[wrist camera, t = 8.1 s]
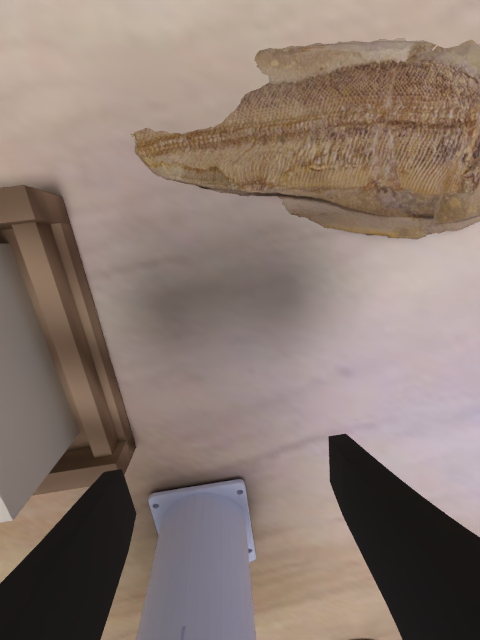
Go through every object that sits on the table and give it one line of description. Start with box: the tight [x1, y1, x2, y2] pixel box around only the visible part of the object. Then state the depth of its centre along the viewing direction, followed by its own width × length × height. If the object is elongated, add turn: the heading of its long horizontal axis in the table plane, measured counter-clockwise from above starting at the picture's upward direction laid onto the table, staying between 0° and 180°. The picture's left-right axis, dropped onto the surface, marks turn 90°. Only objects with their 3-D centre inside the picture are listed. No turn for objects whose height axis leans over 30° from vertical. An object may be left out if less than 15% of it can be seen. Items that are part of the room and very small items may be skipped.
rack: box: [0, 185, 136, 495], centre depth 16 cm, size 18×10×3 cm, turn 7°
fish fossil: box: [131, 38, 480, 239], centre depth 15 cm, size 26×10×1 cm, turn 93°
